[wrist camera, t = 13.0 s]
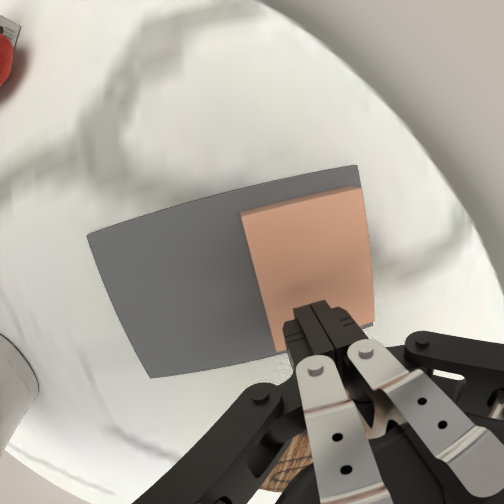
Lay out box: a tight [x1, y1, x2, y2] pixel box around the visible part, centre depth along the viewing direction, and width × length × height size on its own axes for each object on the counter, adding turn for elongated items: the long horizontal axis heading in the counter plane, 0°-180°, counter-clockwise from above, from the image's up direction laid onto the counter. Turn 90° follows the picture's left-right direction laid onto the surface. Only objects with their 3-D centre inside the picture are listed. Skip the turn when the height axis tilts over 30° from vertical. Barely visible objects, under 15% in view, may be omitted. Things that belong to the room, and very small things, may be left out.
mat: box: [86, 165, 373, 378], centre depth 18 cm, size 18×12×1 cm, turn 103°
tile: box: [240, 186, 374, 352], centre depth 17 cm, size 9×2×7 cm
